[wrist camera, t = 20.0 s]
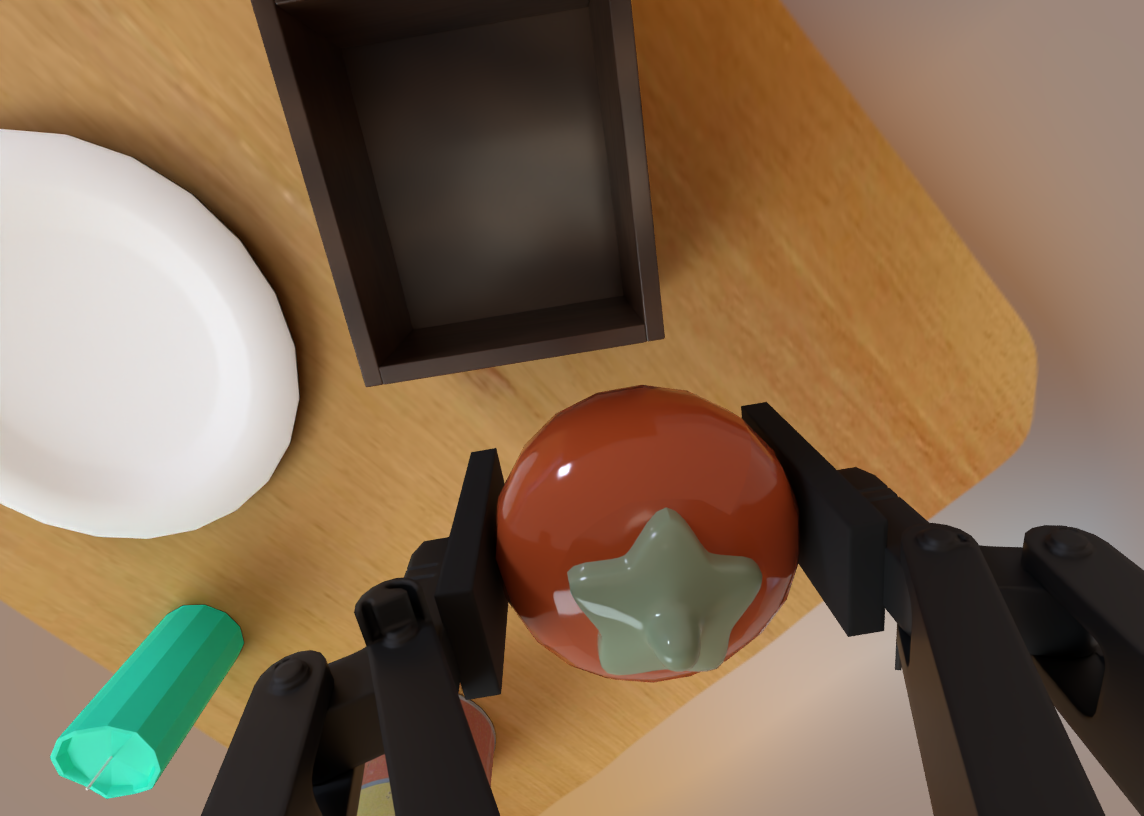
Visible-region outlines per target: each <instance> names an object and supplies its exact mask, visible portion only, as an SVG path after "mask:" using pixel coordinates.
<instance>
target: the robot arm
mask: <svg viewBox="0 0 1144 816" xmlns="http://www.w3.org/2000/svg"><path fill="white" fill-rule="evenodd" d="M741 411H742V419H743V420H744V421H745V422H746V423H747V424H748V425H749V426H750V427H751V428H752V429H753V430H754V431H755V432H756V433H757V434H758V435H759V436H760V437H761V438H762V439H763V440H764V441H765V442H766V443H767V444H768V445H769V446H770V447H771V448H772V449H773V450H774V452H775V454H776V456H777V458H778V460H779V462H780V464H781V466H782V468H783V470H784V473H785V475H786V477H787V480H788V482H789V484H790V486H791V489H792V491H793V493H794V495H795V498H796V500H797V502H798V504H799V516H800V555H799V565H800V566H801V568H802V569H803V571H804V572H805V574H806V575H807V577H808V578H809V580H810V581H811V583H812V584H813V586H814V587H815V588H816V590H817V591H818V593H819V594H820V596H821V597H822V599H823V600H824V602H825V603H826V605H827V606H828V608H829V609H830V610H831V612H832V614H833V615H834V616H835V618H836V620H837V621H838V622H839V624H840V625H841V627H842V628H843V630H844V631H845V633H846V634H847V636H848V637H850V636H856V635H862V634H868V633H874V632H880V631H884V620H885V609H886V610H887V611H888V612H889V613H890V615H891V616H892V617H893V618H894V620H895V621H896V622H897V639H896V660H895V670H901V668H902V669H903V674H904V679H905V684H906V688H907V692H908V697H909V702H910V707H911V711H912V716H913V720H914V725H915V730H916V734H917V739H918V744H919V749H920V753H921V758H922V763H923V767H924V772H925V776H926V781H927V786H928V790H929V795H930V799H931V804H932V809H933V814H934V816H1105V814H1104V811H1103V810H1102V807H1101V805H1100V803H1099V801H1098V799H1097V797H1096V794H1095V792H1094V790H1093V788H1092V786H1091V784H1090V782H1089V779H1088V778H1087V775H1086V773H1085V771H1084V769H1083V767H1082V765H1081V763H1080V760H1079V758H1078V756H1077V754H1076V752H1075V750H1074V748H1073V746H1072V744H1071V741H1070V739H1069V737H1068V735H1067V733H1066V730H1065V728H1064V726H1063V724H1062V722H1061V720H1060V718H1059V716H1058V714H1057V711H1056V709H1057V710H1058V711H1059V713H1060V714H1061V715H1062V716H1063V718H1064V719H1065V720H1066V722H1067V723H1068V724H1069V725H1070V727H1071V728H1072V729H1073V730H1074V732H1075V733H1076V734H1077V735H1078V737H1079V738H1080V739H1081V740H1082V741H1083V743H1084V744H1085V745H1086V747H1087V748H1088V749H1089V751H1090V752H1091V753H1092V754H1093V756H1094V757H1095V758H1096V759H1097V760H1098V762H1099V763H1100V764H1101V766H1102V767H1103V768H1104V769H1105V771H1106V772H1107V773H1108V774H1109V776H1110V777H1111V778H1112V779H1113V781H1114V782H1115V783H1116V785H1117V786H1118V787H1119V788H1120V790H1121V791H1122V792H1123V793H1124V795H1125V796H1126V797H1127V798H1128V800H1129V801H1130V802H1131V803H1132V805H1133V806H1134V807H1135V808H1136V810H1137V811H1138V812H1139V814H1140V815H1141V816H1144V570H1142V569H1141V568H1140V567H1138V566H1137V565H1136V564H1135V563H1133V562H1132V561H1131V560H1129V559H1128V558H1127V557H1126V556H1124V555H1123V554H1122V553H1121V552H1119V551H1118V550H1117V549H1115V548H1114V547H1113V546H1112V545H1110V544H1109V543H1108V542H1106V541H1104V540H1103V539H1101V538H1099V537H1098V536H1096V535H1094V534H1091V533H1088V532H1086V531H1083V530H1080V529H1077V528H1073V527H1067V526H1049V525H1044V526H1040V527H1035V528H1032V529H1030V530H1029V531H1027V532H1026V533H1025V537H1024V543H1023V548H1021V547H993V546H980V545H978V543H977V542H976V541H975V540H974V538H973V537H972V536H971V535H969V534H967V533H966V532H964V531H962V530H960V529H958V528H954V527H951V526H948V525H943V524H936V523H929V522H928V521H927V520H925V519H924V518H923V517H922V516H921V515H920V514H919V513H917V512H916V511H915V510H914V509H913V508H912V507H911V506H909V505H908V504H907V503H906V502H905V501H904V500H903V499H901V498H900V497H898V496H897V494H896V493H895V492H893V491H892V490H891V489H890V488H887V485H885V484H884V483H883V482H882V481H881V480H880V479H879V478H877V477H876V476H875V475H873V474H871V473H868V472H866V471H864V470H861V469H859V468H857V467H853V468H847V469H841V470H836V469H835V468H834V467H833V466H832V465H831V464H830V463H829V462H828V461H827V460H826V459H825V458H824V457H823V456H822V455H821V454H820V453H819V452H818V451H816V450H815V449H814V448H813V447H812V446H811V445H810V444H809V443H808V442H807V441H806V440H805V439H804V438H803V437H802V436H801V435H800V434H799V433H798V432H797V431H796V430H795V429H794V428H793V427H792V426H791V425H790V424H789V423H788V422H787V421H786V420H785V419H783V418H782V417H781V416H780V415H779V414H778V413H777V412H776V411H775V410H774V409H773V408H772V407H771V406H770V405H769V404H768V403H767V402H763V403H758V404H752V405H746V406H741ZM504 485H505V484H504V479H503V475H502V471H501V466H500V462H499V458H498V454H497V449H496V448H494V449H488V450H482V451H476V452H471V455H470V459H469V463H468V467H467V471H466V475H465V478H464V482H463V486H462V490H461V494H460V498H459V502H458V505H457V509H456V513H455V517H454V521H453V525H452V529H451V532H450V536H449V537H447V538H442V539H436V540H430V541H424V542H423V543H422V544H421V545H420V546H419V548H418V549H417V550H416V551H415V552H414V553H413V554H412V556H411V559H410V562H409V565H408V567H407V571H406V573H405V576H404V578H395V579H392V580H388V581H384V582H382V583H380V584H378V585H376V586H374V587H372V588H371V589H370V590H368V591H367V592H366V593H365V594H363V595H362V596H361V598H360V599H359V601H358V602H357V603H356V606H355V612H354V613H355V616H356V619H357V621H358V624H359V627H360V630H361V632H362V635H363V638H364V640H365V643H366V646H367V647H365V648H363V649H362V650H360V651H358V652H356V653H354V654H352V655H349V656H347V657H344V658H342V659H339V660H337V661H334V662H332V663H329V664H327V661H326V659H325V657H324V656H323V655H322V654H321V653H320V652H316V651H312V650H309V651H301V652H297V653H294V654H292V655H289V656H286V657H284V658H283V659H281V660H279V661H278V662H276V663H275V664H273V665H272V666H270V667H269V668H268V669H267V670H266V671H265V672H264V673H263V674H262V675H261V676H260V678H259V679H258V681H257V682H256V684H255V686H254V688H253V690H252V693H251V695H250V698H249V700H248V702H247V705H246V707H245V710H244V712H243V715H242V717H241V719H240V722H239V724H238V727H237V729H236V732H235V734H234V736H233V739H232V741H231V744H230V746H229V748H228V751H227V754H226V756H225V759H224V761H223V763H222V766H221V768H220V770H219V773H218V775H217V778H216V780H215V782H214V785H213V787H212V790H211V793H210V795H209V797H208V800H207V802H206V804H205V807H204V809H203V812H202V814H201V816H357V812H358V805H359V799H360V793H361V787H362V780H363V774H364V768H365V763H366V762H368V761H371V760H373V759H375V758H377V757H379V756H382V755H384V754H385V758H386V764H387V770H388V776H389V782H390V788H391V794H392V800H393V806H394V812H395V816H500V813H499V811H498V808H497V805H496V802H495V799H494V796H493V793H492V790H491V788H490V785H489V782H488V779H487V776H486V773H485V770H484V767H483V764H482V762H481V759H480V756H479V753H478V750H477V747H476V744H475V741H474V739H473V736H472V733H471V730H470V727H469V724H468V721H467V718H466V715H465V713H464V710H463V707H462V704H461V701H460V698H459V695H458V692H459V685H460V683H461V686H462V689H463V693H464V696H465V699H466V700H469V699H475V698H481V697H487V696H493V695H499V694H501V689H502V676H503V663H504V650H505V638H506V625H507V612H508V601H507V599H506V598H505V594H504V590H503V586H502V583H501V579H500V575H499V571H498V567H497V563H496V559H495V550H494V541H493V539H494V530H495V521H496V512H497V503H498V497H499V495H500V493H501V491H502V489H503V487H504ZM1054 706H1055V707H1056V709H1055V707H1054Z"/></svg>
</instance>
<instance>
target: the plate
mask: <svg viewBox="0 0 1144 816" xmlns="http://www.w3.org/2000/svg"><path fill="white" fill-rule="evenodd" d="M299 400H300V389H299V378H298V366H297V355H296V346H295V343H294V340H293V337H292V335H291V332H290V329H289V326H288V324H287V321H286V318H285V315H284V313H283V310H282V307H281V305H280V302H279V299H278V296H277V294H276V292H275V290H274V289H273V287H272V286H271V284H270V283H269V281H268V280H267V278H266V277H265V275H264V274H263V272H262V271H261V269H260V268H259V266H258V265H257V263H256V262H255V260H254V259H253V257H252V256H251V254H250V253H249V251H248V250H247V248H246V247H245V245H244V244H243V242H242V241H241V240H240V239H239V238H238V237H237V236H236V235H235V234H234V233H233V232H232V231H231V230H230V229H229V228H228V227H227V226H226V225H225V224H224V223H223V222H222V221H221V220H220V219H218V218H217V217H216V216H215V215H214V214H213V213H212V212H211V211H210V210H209V209H208V208H207V207H206V206H205V205H204V204H203V203H202V202H201V201H200V200H199V199H198V198H197V197H196V196H195V195H194V194H192V193H191V192H189V191H187V190H186V189H184V188H182V187H181V186H179V185H178V184H176V183H174V182H173V181H171V180H169V179H168V178H166V177H165V176H163V175H161V174H160V173H158V172H157V171H155V170H153V169H152V168H150V167H148V166H147V165H145V164H144V163H142V162H140V161H139V160H137V159H136V158H134V157H131V156H128V155H125V154H122V153H119V152H116V151H113V150H111V149H108V148H105V147H102V146H99V145H96V144H93V143H90V142H87V141H84V140H82V139H79V138H76V137H73V136H70V135H66V134H54V133H42V132H31V131H19V130H7V129H0V504H2V505H4V506H7V507H9V508H11V509H13V510H15V511H18V512H20V513H22V514H24V515H26V516H29V517H31V518H33V519H35V520H37V521H40V522H42V523H44V524H48V525H52V526H56V527H60V528H64V529H68V530H72V531H76V532H80V533H84V534H88V535H92V536H97V537H118V538H142V539H149V538H155V537H160V536H165V535H171V534H176V533H182V532H187V531H192V530H196V529H198V528H200V527H202V526H205V525H207V524H209V523H211V522H213V521H215V520H217V519H219V518H221V517H224V516H226V515H228V514H230V513H232V512H234V511H236V510H237V509H238V508H239V507H240V506H242V505H243V504H244V503H245V502H246V501H247V500H248V499H249V498H250V497H251V496H253V495H254V494H255V493H256V492H257V491H258V490H259V489H260V488H261V487H263V486H264V485H265V484H266V483H267V482H268V481H269V479H270V478H271V476H272V474H273V472H274V471H275V469H276V467H277V465H278V464H279V462H280V460H281V458H282V457H283V455H284V453H285V451H286V450H287V448H288V446H289V444H290V443H291V439H292V434H293V429H294V424H295V420H296V415H297V410H298V405H299Z"/></svg>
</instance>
